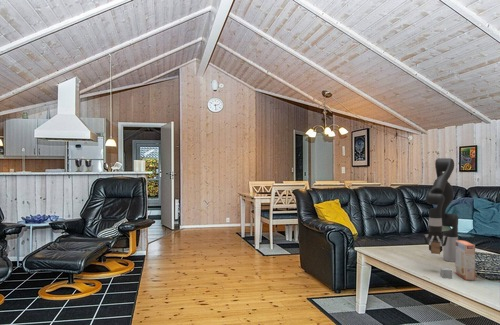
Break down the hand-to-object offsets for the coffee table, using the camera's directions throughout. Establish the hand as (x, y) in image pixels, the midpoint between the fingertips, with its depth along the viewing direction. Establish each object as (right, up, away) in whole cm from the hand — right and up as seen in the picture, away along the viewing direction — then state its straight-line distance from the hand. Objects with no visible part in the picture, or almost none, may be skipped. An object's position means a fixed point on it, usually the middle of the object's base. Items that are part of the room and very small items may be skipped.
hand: (435, 251), depth 227 cm
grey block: (0, -13, -12) cm, 18 cm away
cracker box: (+12, -13, -12) cm, 21 cm away
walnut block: (0, -1, 0) cm, 1 cm away
